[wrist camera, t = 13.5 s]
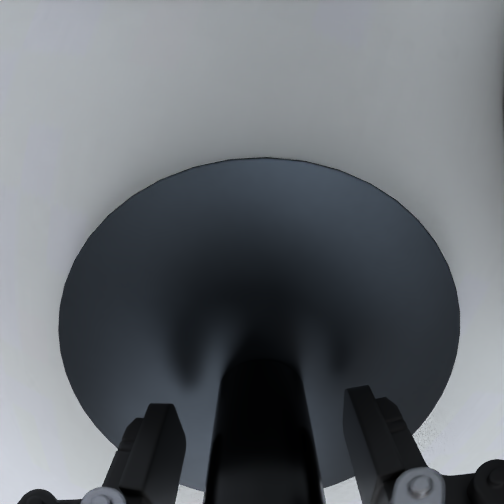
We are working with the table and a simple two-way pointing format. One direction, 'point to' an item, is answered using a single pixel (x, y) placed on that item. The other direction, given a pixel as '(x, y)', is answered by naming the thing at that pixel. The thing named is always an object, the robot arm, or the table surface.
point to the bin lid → (258, 320)
